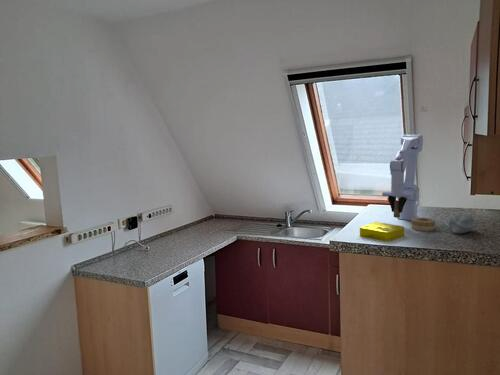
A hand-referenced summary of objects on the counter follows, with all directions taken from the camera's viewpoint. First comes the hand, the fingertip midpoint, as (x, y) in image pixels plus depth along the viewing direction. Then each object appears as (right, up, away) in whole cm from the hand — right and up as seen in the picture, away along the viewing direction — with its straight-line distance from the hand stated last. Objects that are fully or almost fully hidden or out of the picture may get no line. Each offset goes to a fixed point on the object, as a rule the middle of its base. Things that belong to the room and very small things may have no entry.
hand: (396, 212), depth 201 cm
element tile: (-13, -10, -17) cm, 24 cm away
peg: (0, -2, 0) cm, 2 cm away
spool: (+24, -8, -15) cm, 29 cm away
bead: (+10, -7, -6) cm, 14 cm away
